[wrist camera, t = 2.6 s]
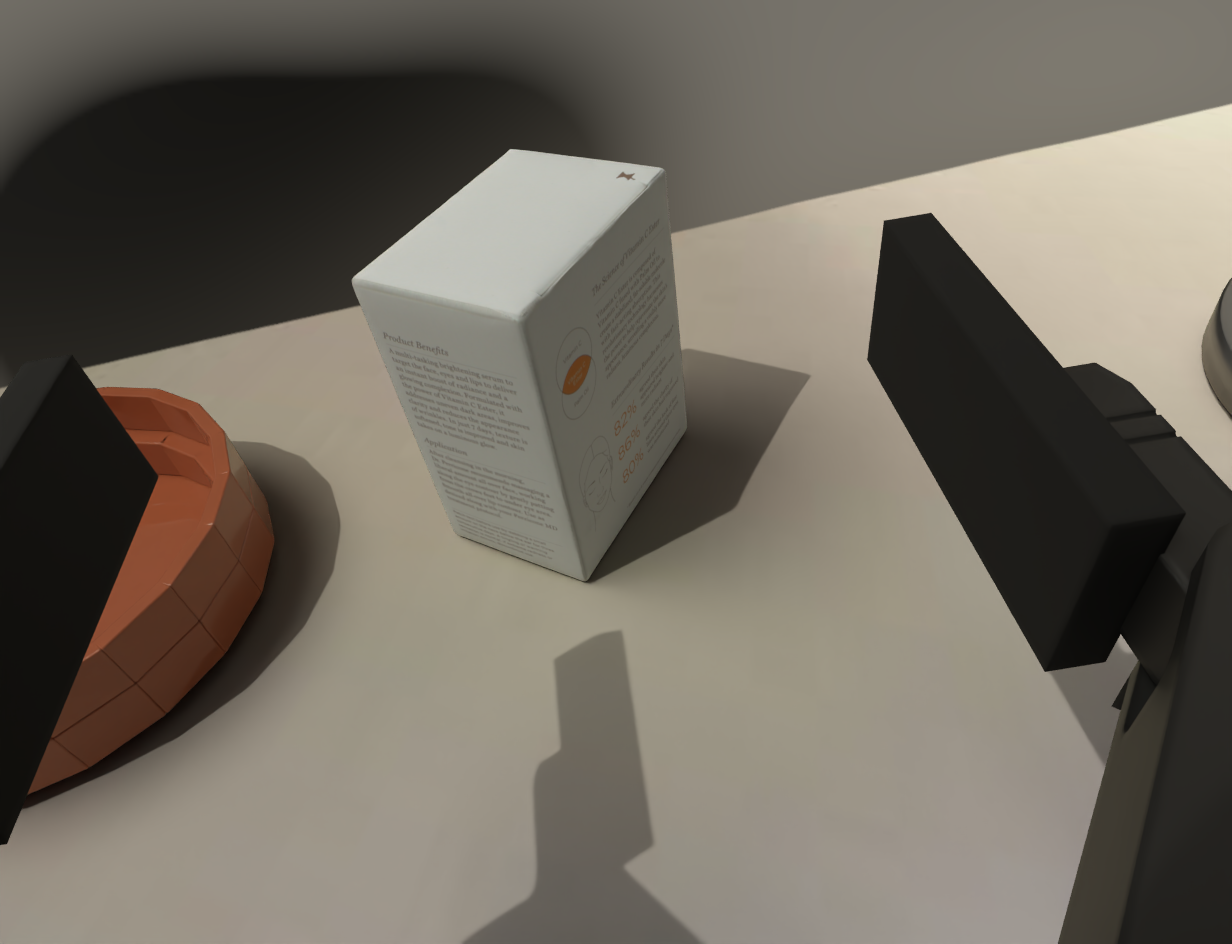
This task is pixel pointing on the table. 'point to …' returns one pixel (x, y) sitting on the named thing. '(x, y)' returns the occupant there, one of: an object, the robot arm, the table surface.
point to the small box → (537, 351)
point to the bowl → (166, 582)
